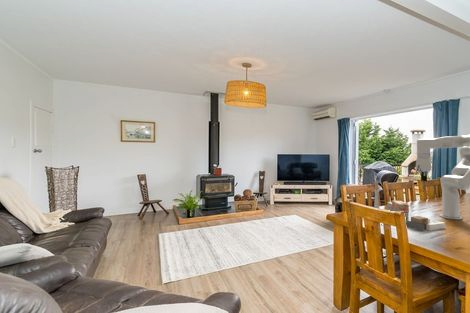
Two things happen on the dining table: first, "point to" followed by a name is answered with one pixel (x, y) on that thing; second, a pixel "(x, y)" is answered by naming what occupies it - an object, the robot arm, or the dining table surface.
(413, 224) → the bar
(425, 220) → the walnut block
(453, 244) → the dining table surface
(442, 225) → the chute rail
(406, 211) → the stack of blocks
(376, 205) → the candlestick
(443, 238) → the dining table surface
